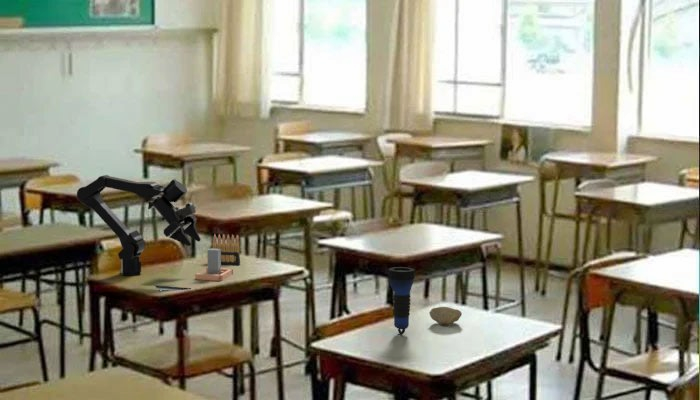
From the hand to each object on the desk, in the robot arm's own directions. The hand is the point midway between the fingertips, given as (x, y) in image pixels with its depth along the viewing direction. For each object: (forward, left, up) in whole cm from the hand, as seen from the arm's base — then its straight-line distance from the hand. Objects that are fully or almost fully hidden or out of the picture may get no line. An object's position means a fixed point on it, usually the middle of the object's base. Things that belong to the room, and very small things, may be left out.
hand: (195, 243), depth 423 cm
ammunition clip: (+17, +21, -13) cm, 30 cm away
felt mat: (-11, -12, -13) cm, 21 cm away
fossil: (+58, -89, -13) cm, 107 cm away
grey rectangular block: (+6, -4, -12) cm, 14 cm away
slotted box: (+6, -4, -13) cm, 15 cm away
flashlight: (+41, -94, -13) cm, 104 cm away
